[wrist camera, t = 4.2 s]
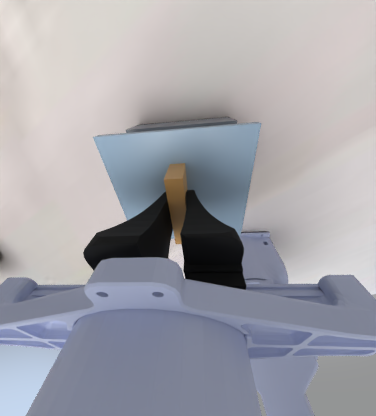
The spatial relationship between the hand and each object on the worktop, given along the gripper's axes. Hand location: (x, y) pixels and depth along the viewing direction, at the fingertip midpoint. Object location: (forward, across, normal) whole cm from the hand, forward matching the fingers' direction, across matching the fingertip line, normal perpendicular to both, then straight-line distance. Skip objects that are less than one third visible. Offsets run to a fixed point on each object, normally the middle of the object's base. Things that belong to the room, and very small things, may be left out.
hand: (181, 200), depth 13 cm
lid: (+2, 0, 0) cm, 2 cm away
